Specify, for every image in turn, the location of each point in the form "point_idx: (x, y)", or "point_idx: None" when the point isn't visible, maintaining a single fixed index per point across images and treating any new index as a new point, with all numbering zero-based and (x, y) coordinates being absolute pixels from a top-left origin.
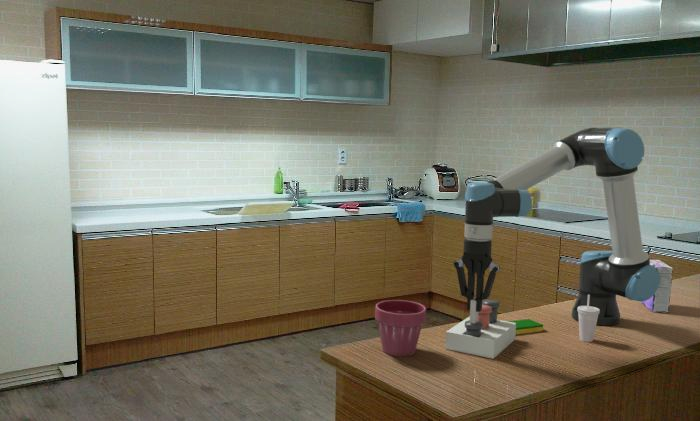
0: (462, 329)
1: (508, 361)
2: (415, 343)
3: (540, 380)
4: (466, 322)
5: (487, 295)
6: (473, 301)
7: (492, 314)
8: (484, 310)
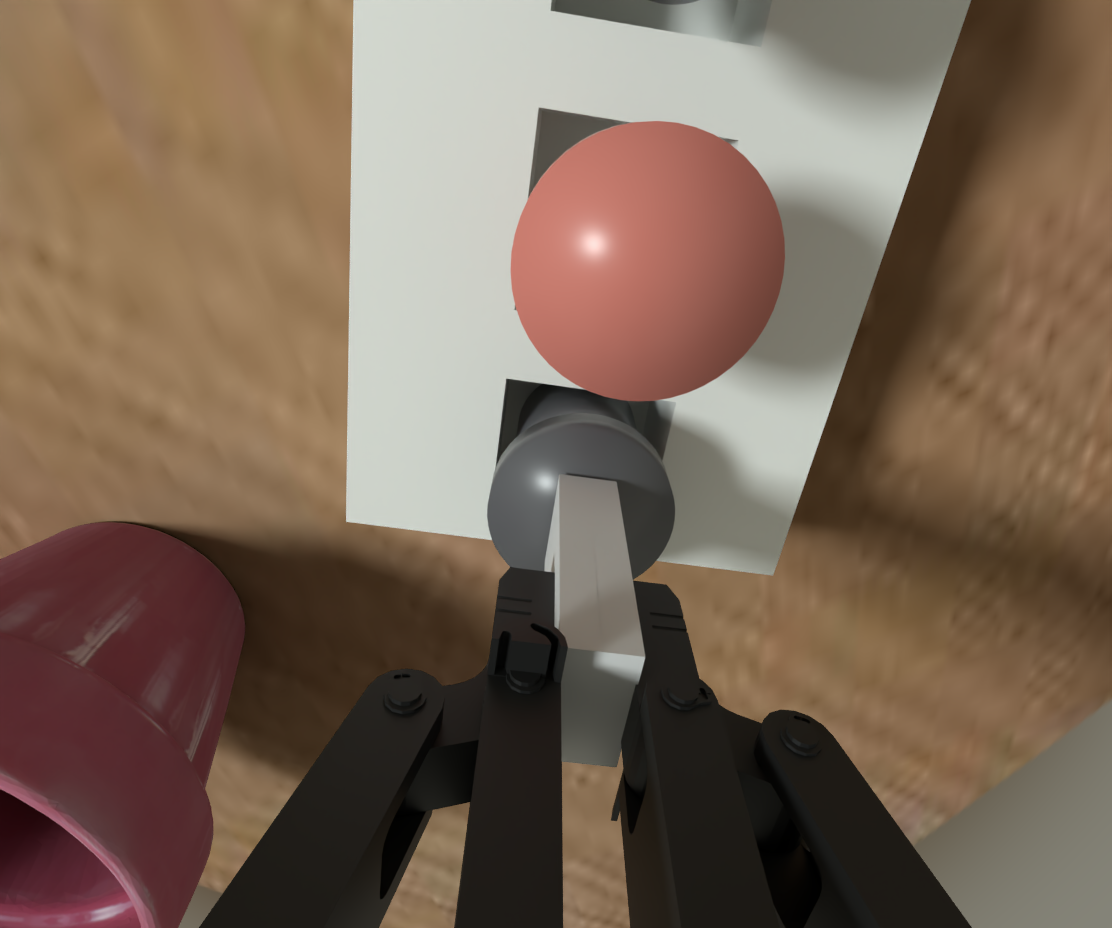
0: (456, 401)
1: (841, 504)
2: (231, 685)
3: (1006, 696)
4: (507, 533)
5: (818, 867)
6: (582, 752)
7: None
8: (683, 385)
